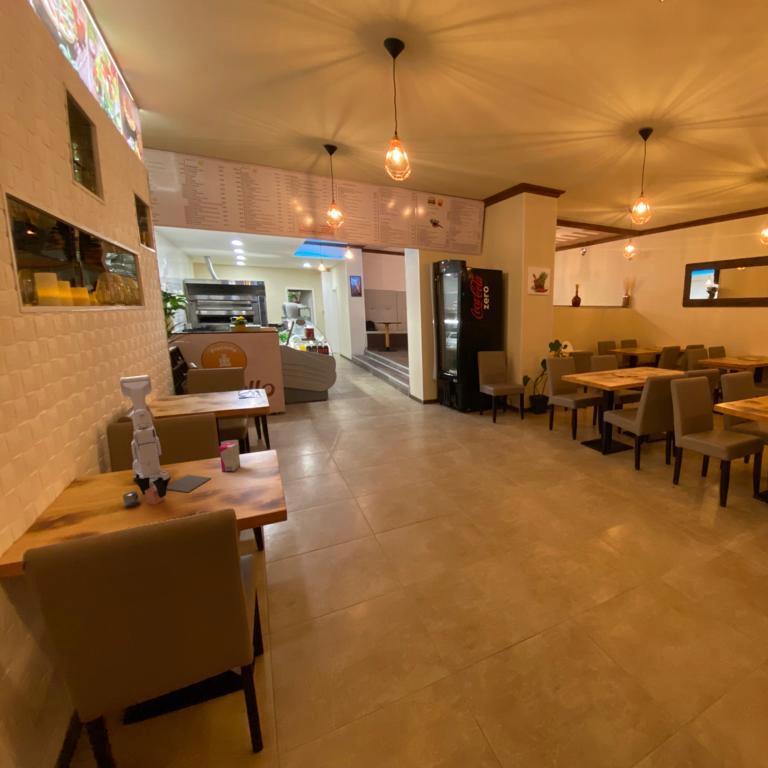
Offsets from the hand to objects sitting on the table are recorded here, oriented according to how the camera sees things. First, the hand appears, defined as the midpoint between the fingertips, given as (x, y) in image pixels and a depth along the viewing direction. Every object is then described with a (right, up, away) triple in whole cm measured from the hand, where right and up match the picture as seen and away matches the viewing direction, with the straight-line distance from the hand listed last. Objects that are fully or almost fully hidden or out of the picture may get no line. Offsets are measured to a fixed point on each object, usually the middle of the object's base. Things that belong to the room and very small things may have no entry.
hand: (154, 495), depth 133 cm
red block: (0, -2, +1) cm, 3 cm away
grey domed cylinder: (-6, -1, +6) cm, 9 cm away
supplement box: (+17, +3, +26) cm, 31 cm away
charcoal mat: (+5, 0, +13) cm, 14 cm away
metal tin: (-7, -3, -1) cm, 8 cm away
